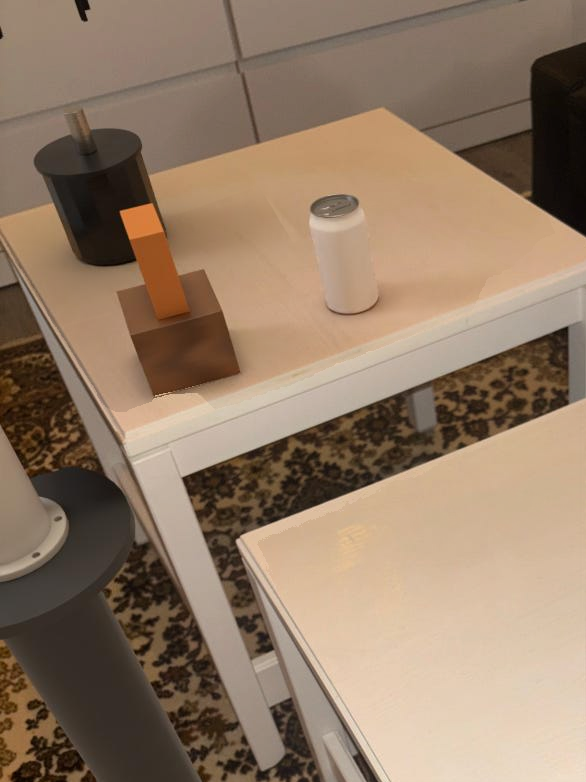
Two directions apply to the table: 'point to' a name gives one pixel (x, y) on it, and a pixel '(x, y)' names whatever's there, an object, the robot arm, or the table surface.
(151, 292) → the block
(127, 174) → the trash tin
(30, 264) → the table surface
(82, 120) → the tin lid
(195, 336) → the riser
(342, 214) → the can
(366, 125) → the table surface
